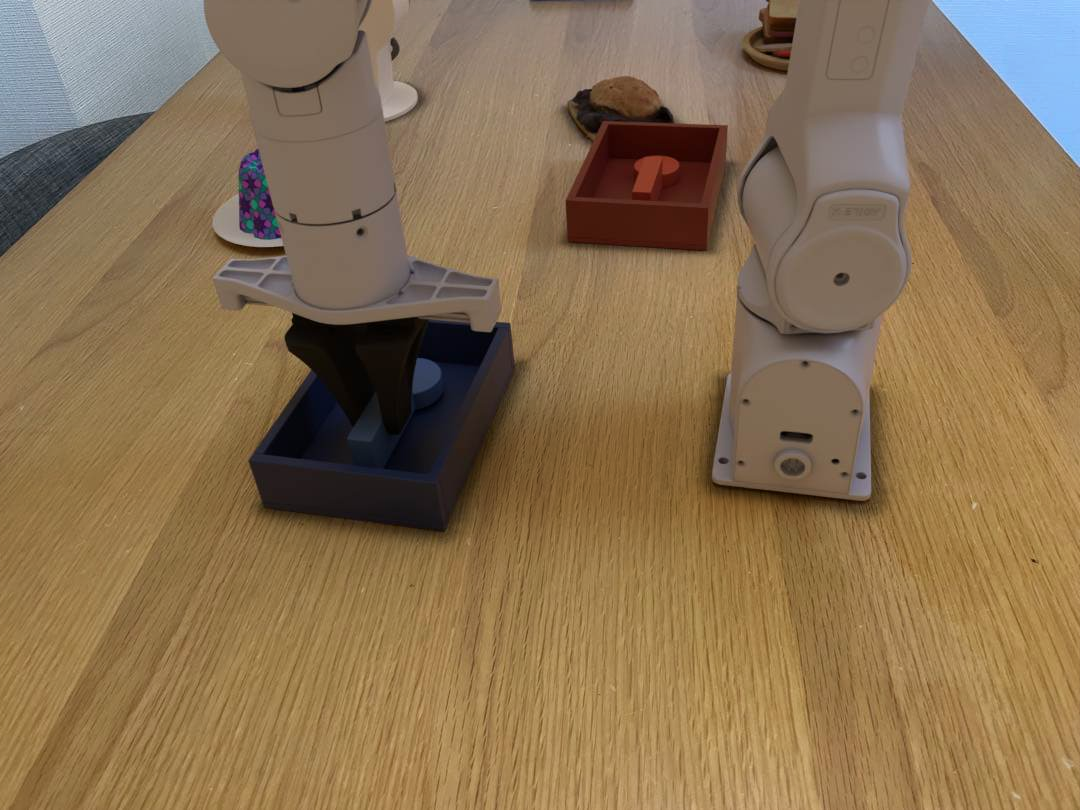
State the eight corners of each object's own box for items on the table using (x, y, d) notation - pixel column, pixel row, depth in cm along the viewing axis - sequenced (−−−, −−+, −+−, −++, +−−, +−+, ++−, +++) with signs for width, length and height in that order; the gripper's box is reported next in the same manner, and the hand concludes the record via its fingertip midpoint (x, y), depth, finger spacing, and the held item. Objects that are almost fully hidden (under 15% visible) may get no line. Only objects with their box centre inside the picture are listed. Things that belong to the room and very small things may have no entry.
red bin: (706, 250, 71) (708, 207, 69) (567, 241, 73) (565, 200, 71) (725, 164, 81) (727, 124, 79) (603, 159, 84) (602, 120, 82)
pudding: (295, 269, 73) (279, 204, 69) (182, 236, 78) (162, 174, 75) (396, 199, 80) (385, 138, 77) (287, 173, 86) (272, 115, 82)
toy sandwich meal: (732, 73, 97) (735, 23, 94) (750, 27, 107) (754, -19, 104) (865, 78, 94) (872, 27, 91) (871, 31, 104) (878, -17, 101)
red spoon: (665, 225, 73) (665, 193, 72) (617, 222, 74) (616, 190, 72) (681, 170, 80) (682, 139, 79) (638, 168, 81) (637, 138, 79)
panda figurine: (439, 84, 100) (418, -77, 91) (400, 130, 91) (372, -42, 82) (330, 81, 103) (299, -76, 93) (282, 125, 94) (242, -42, 85)
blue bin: (444, 531, 51) (435, 483, 48) (263, 507, 53) (247, 460, 51) (515, 368, 61) (510, 322, 59) (362, 353, 64) (352, 309, 61)
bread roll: (561, 109, 93) (558, 70, 91) (646, 94, 94) (645, 56, 92) (595, 153, 85) (593, 111, 83) (687, 136, 86) (688, 94, 84)
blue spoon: (398, 480, 53) (390, 443, 51) (336, 472, 54) (326, 435, 52) (451, 376, 60) (446, 341, 58) (395, 371, 61) (389, 336, 59)
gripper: (507, 166, 48) (527, 389, 56) (235, 153, 51) (293, 366, 59) (463, 238, 42) (493, 473, 51) (163, 219, 45) (238, 442, 54)
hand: (383, 421), depth 55 cm, fingers closed on blue spoon
